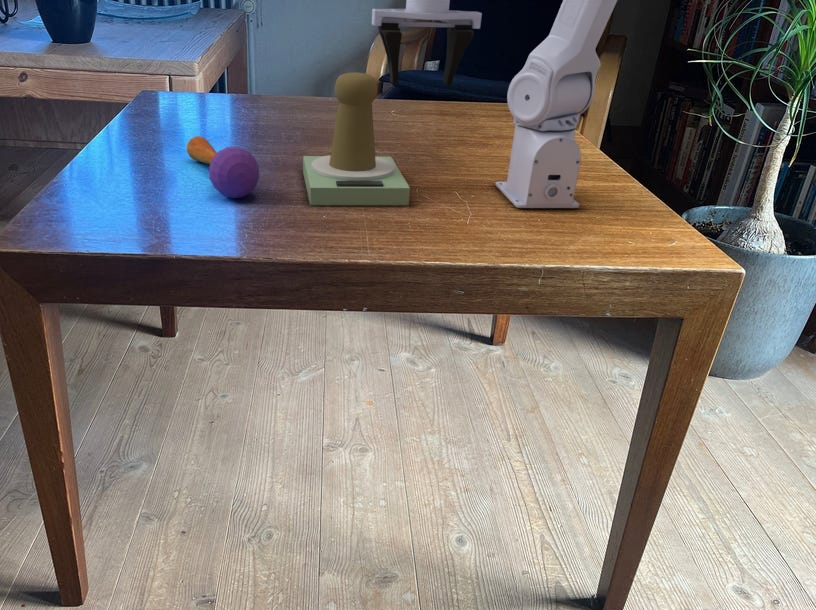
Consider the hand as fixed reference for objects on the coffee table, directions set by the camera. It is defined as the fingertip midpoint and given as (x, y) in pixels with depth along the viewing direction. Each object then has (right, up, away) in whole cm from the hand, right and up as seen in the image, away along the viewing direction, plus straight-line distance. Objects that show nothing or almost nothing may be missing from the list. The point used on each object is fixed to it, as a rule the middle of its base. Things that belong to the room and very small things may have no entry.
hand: (420, 83), depth 103 cm
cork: (-10, -14, -9) cm, 19 cm away
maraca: (-27, -16, -7) cm, 32 cm away
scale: (-10, -16, -8) cm, 21 cm away
